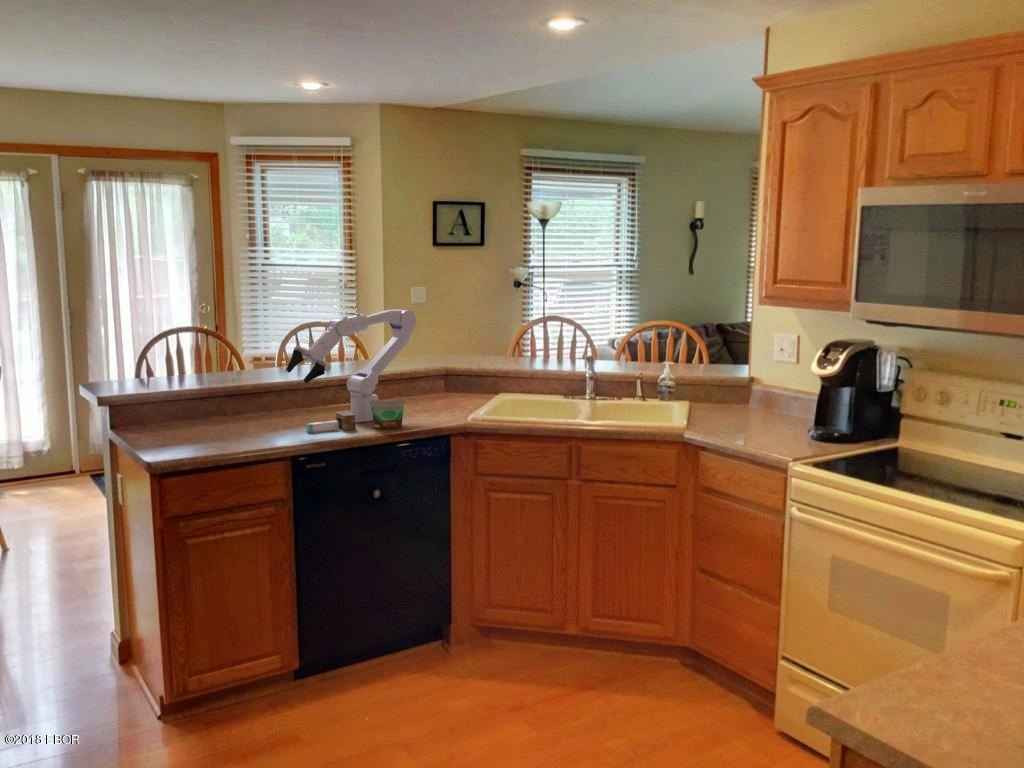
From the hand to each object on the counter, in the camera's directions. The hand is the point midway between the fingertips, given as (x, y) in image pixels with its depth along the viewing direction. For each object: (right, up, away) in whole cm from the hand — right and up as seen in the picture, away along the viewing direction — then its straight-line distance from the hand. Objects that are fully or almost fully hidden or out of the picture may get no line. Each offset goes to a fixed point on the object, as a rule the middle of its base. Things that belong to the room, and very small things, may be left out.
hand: (296, 376), depth 287 cm
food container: (+31, -18, +4) cm, 36 cm away
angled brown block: (+15, -17, +5) cm, 24 cm away
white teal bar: (+9, -18, +1) cm, 20 cm away
